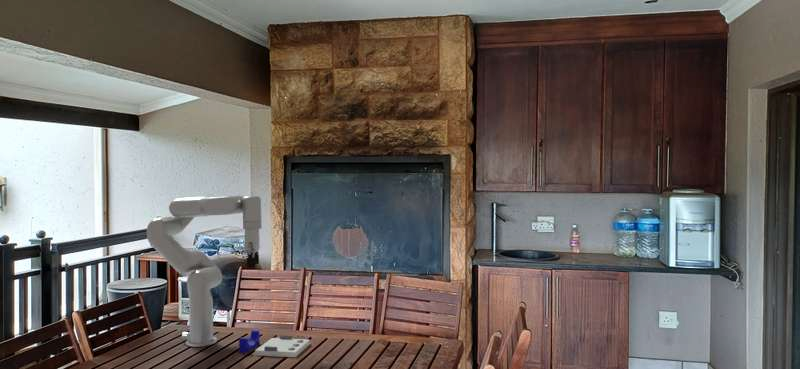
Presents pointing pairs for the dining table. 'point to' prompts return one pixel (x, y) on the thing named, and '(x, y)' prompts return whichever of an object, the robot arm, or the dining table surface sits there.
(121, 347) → the dining table surface
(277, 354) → the white square board
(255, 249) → the robot arm
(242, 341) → the cable clip
